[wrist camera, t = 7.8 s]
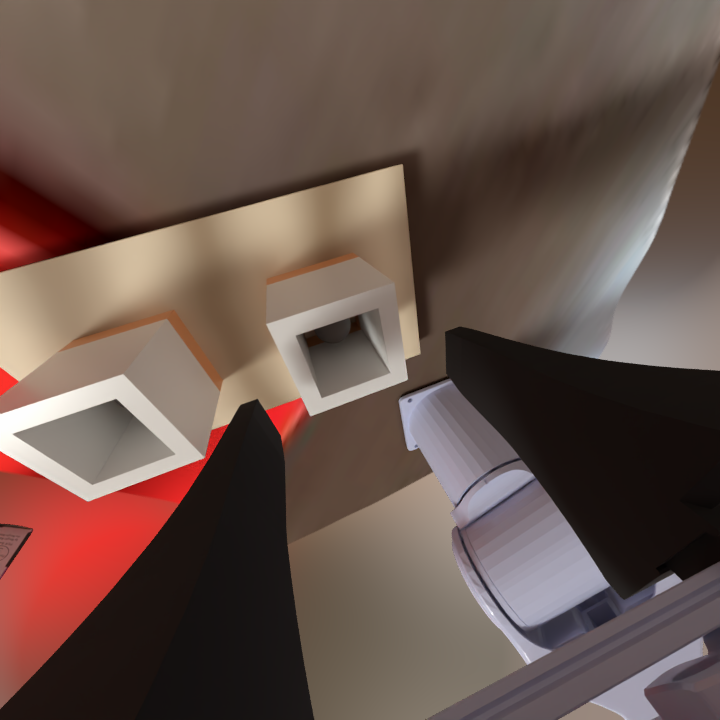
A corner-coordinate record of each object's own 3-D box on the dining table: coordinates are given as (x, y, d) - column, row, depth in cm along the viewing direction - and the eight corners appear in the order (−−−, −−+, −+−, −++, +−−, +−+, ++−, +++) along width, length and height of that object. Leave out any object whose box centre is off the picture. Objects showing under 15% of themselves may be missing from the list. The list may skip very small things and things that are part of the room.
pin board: (391, 166, 14) (439, 157, 10) (411, 344, 21) (445, 380, 17) (-55, 286, 12) (-219, 335, 8) (133, 444, 19) (97, 513, 15)
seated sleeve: (173, 309, 14) (123, 374, 9) (223, 380, 17) (204, 457, 12) (72, 340, 13) (-40, 427, 8) (141, 408, 16) (87, 501, 11)
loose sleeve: (352, 252, 15) (394, 282, 10) (369, 328, 18) (407, 379, 13) (266, 278, 14) (266, 324, 9) (298, 352, 17) (310, 416, 12)
